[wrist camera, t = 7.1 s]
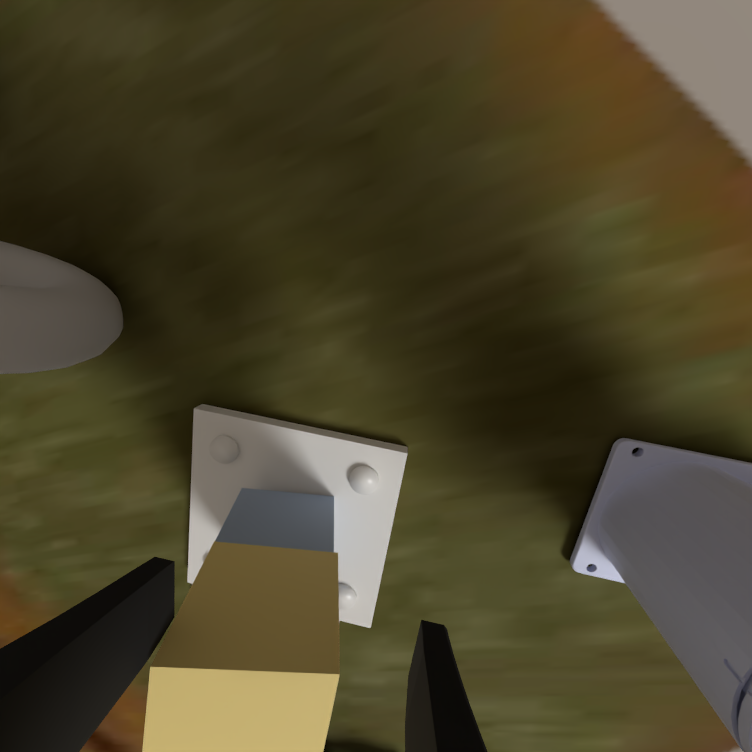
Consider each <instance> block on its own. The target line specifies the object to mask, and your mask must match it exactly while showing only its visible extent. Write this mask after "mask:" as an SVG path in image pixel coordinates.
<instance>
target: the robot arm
mask: <svg viewBox="0 0 752 752" xmlns="http://www.w3.org/2000/svg"><path fill="white" fill-rule="evenodd" d="M635 448H639V450H638V451H637V452H636V453H634V454H632V451H633V449H635ZM570 564H571V566H572V568H573V569H574V570H575V571H576V572H578V573H582V574H587V575H591V576H596V577H600V578H604V579H609V580H613V581H618V582H622V583H626V585H627V586H628V588H629V589H630V590H631V592H632V593H633V595H634V596H635V598H636V599H637V600H638V602H639V603H640V605H641V606H642V608H643V609H644V610H645V612H646V613H647V615H648V616H649V618H650V619H651V620H652V622H653V623H654V625H655V626H656V628H657V629H658V630H659V632H660V633H661V635H662V636H663V638H664V639H665V640H666V642H667V643H668V645H669V646H670V648H671V649H672V650H673V652H674V653H675V655H676V656H677V658H678V659H679V660H680V662H681V663H682V665H683V666H684V668H685V669H686V670H687V672H688V673H689V675H690V676H691V678H692V679H693V680H694V682H695V683H696V685H697V686H698V688H699V689H700V690H701V692H702V693H703V695H704V696H705V698H706V699H707V700H708V702H709V703H710V705H711V706H712V708H713V709H714V710H715V712H716V713H717V715H718V716H719V718H720V719H721V720H722V722H723V723H724V725H725V726H726V728H727V729H728V731H729V732H730V733H731V735H732V736H733V738H734V739H735V741H736V742H737V743H738V745H739V746H740V748H741V749H742V750H743V751H744V752H752V463H749V462H744V461H739V460H734V459H729V458H724V457H719V456H714V455H709V454H704V453H699V452H694V451H689V450H684V449H679V448H673V447H668V446H663V445H658V444H653V443H648V442H643V441H638V440H633V439H628V438H621V439H618V440H617V441H616V442H615V443H614V444H613V446H612V449H611V452H610V454H609V457H608V460H607V462H606V465H605V468H604V470H603V473H602V476H601V478H600V481H599V484H598V486H597V489H596V492H595V494H594V497H593V500H592V502H591V505H590V508H589V510H588V513H587V516H586V518H585V521H584V524H583V526H582V529H581V532H580V534H579V537H578V540H577V542H576V545H575V548H574V550H573V553H572V556H571V558H570ZM589 564H593V565H592V566H590V567H587V566H588V565H589ZM173 618H174V561H170V560H166V559H162V558H158V557H154V558H152V559H151V560H149V561H147V562H146V563H144V564H142V565H141V566H139V567H137V568H136V569H134V570H133V571H131V572H129V573H128V574H126V575H125V576H123V577H121V578H120V579H118V580H117V581H115V582H113V583H112V584H110V585H108V586H107V587H105V588H104V589H102V590H100V591H99V592H97V593H96V594H94V595H92V596H91V597H89V598H87V599H86V600H84V601H82V602H81V603H79V604H77V605H76V606H74V607H72V608H71V609H69V610H67V611H66V612H64V613H62V614H61V615H59V616H57V617H56V618H54V619H52V620H50V621H49V622H47V623H45V624H43V625H42V626H40V627H38V628H36V629H34V630H33V631H31V632H29V633H27V634H26V635H24V636H22V637H20V638H19V639H17V640H15V641H13V642H12V643H10V644H8V645H6V646H4V647H3V648H1V649H0V752H79V751H80V750H81V748H82V747H83V746H84V744H85V743H86V742H87V740H88V739H89V738H90V736H91V735H92V734H93V732H94V731H95V730H96V728H97V727H98V726H99V724H100V723H101V722H102V720H103V719H104V718H105V716H106V715H107V714H108V713H109V711H110V710H111V709H112V707H113V706H114V705H115V703H116V702H117V701H118V699H119V698H120V697H121V695H122V694H123V693H124V691H125V690H126V689H127V687H128V686H129V685H130V683H131V682H132V681H133V679H134V678H135V677H136V675H137V674H138V673H139V671H140V670H141V668H142V667H143V666H144V664H145V663H146V662H147V660H148V659H149V657H150V656H151V654H152V653H153V651H154V650H155V648H156V646H157V645H158V643H159V642H160V640H161V638H162V637H163V635H164V633H165V632H166V630H167V628H168V627H169V625H170V623H171V622H172V620H173ZM405 752H487V749H486V747H485V744H484V742H483V739H482V737H481V734H480V731H479V728H478V726H477V723H476V720H475V717H474V715H473V712H472V709H471V707H470V704H469V701H468V698H467V695H466V692H465V689H464V686H463V683H462V680H461V677H460V674H459V671H458V668H457V664H456V661H455V658H454V654H453V651H452V647H451V643H450V640H449V636H448V632H447V629H446V627H445V626H444V625H441V624H437V623H433V622H428V621H424V620H421V624H420V628H419V633H418V637H417V641H416V646H415V650H414V654H413V658H412V663H411V667H410V671H409V676H408V689H407V704H406V720H405Z"/></svg>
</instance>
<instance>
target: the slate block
mask: <svg viewBox="0 0 752 752" xmlns="http://www.w3.org/2000/svg"><path fill="white" fill-rule="evenodd" d="M215 541H216V542H227V543H237V544H248V545H259V546H270V547H281V548H292V549H303V550H314V551H325V552H334V496H325V495H314V494H303V493H292V492H281V491H270V490H259V489H248V488H242V489H241V491H240V493H239V495H238V497H237V499H236V500H235V502H234V504H233V506H232V508H231V510H230V512H229V514H228V516H227V518H226V520H225V522H224V524H223V526H222V528H221V530H220V532H219V534H218V536H217V538H216V540H215Z"/></svg>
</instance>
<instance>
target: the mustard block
mask: <svg viewBox="0 0 752 752" xmlns="http://www.w3.org/2000/svg"><path fill="white" fill-rule="evenodd" d="M339 675H340V665H339V586H338V553H336V552H325V551H314V550H303V549H292V548H281V547H270V546H259V545H248V544H237V543H227V542H216V541H214V543H213V545H212V547H211V549H210V551H209V553H208V555H207V557H206V559H205V561H204V563H203V564H202V566H201V568H200V570H199V572H198V574H197V576H196V578H195V580H194V582H193V584H192V586H191V588H190V590H189V592H188V594H187V596H186V598H185V600H184V602H183V604H182V606H181V608H180V610H179V612H178V614H177V616H176V617H175V619H174V621H173V623H172V625H171V627H170V629H169V631H168V633H167V635H166V637H165V639H164V641H163V643H162V645H161V647H160V649H159V651H158V653H157V655H156V657H155V659H154V661H153V663H152V665H151V667H150V676H149V687H148V698H147V708H146V719H145V729H144V740H143V751H142V752H323V751H324V746H325V742H326V737H327V732H328V727H329V723H330V718H331V713H332V708H333V703H334V699H335V694H336V689H337V684H338V680H339Z"/></svg>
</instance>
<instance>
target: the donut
mask: <svg viewBox="0 0 752 752" xmlns="http://www.w3.org/2000/svg"><path fill="white" fill-rule="evenodd" d="M122 329H123V314H122V308H121V305H120V303H119V300H118V298H117V297H116V296H115V294H114V293H113V292H112V291H111V290H110V289H109V288H108V287H107V286H106V285H105V284H103V283H102V282H101V281H100V280H99V279H97V278H96V277H94V276H92V275H91V274H89V273H87V272H85V271H83V270H81V269H79V268H78V267H76V266H74V265H72V264H69V263H67V262H64V261H62V260H59V259H57V258H54V257H52V256H49V255H46V254H43V253H40V252H37V251H34V250H30V249H27V248H24V247H21V246H18V245H14V244H10V243H6V242H2V241H0V374H8V373H32V372H39V371H46V370H52V369H59V368H66V367H69V366H72V365H75V364H78V363H80V362H83V361H86V360H89V359H91V358H94V357H96V356H98V355H101V354H102V353H103V352H104V351H105V350H106V349H107V348H108V347H109V346H110V345H111V344H112V343H113V342H114V341H115V340H116V339H117V338H118V337H119V336H120V334H121V331H122Z"/></svg>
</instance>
